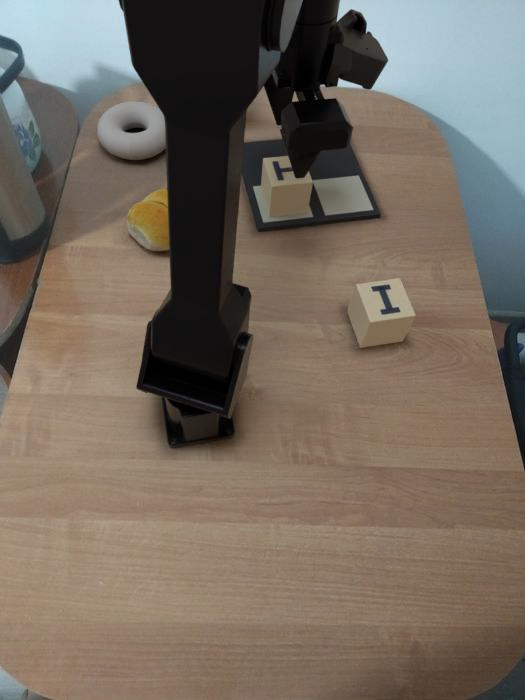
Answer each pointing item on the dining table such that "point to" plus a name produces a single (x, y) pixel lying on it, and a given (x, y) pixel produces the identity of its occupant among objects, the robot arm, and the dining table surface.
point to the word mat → (327, 189)
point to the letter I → (380, 312)
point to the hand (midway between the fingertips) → (290, 149)
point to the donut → (132, 143)
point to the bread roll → (150, 221)
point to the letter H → (284, 188)
